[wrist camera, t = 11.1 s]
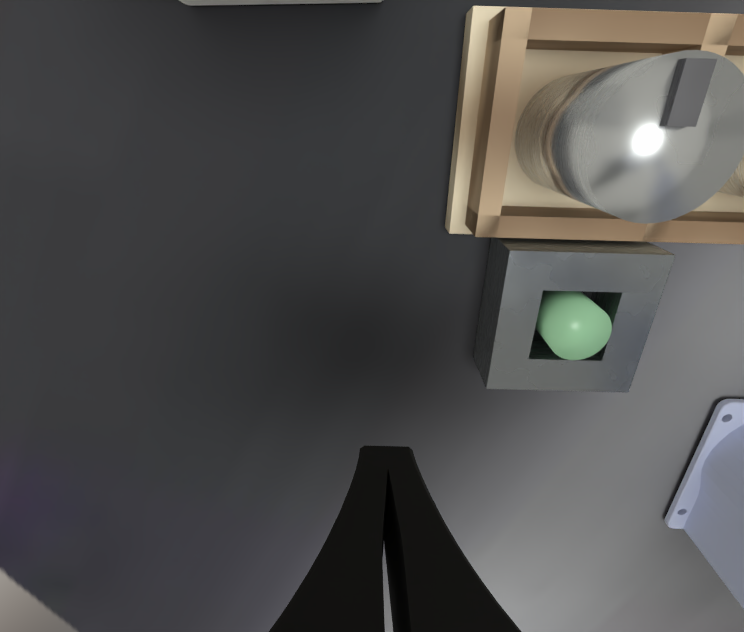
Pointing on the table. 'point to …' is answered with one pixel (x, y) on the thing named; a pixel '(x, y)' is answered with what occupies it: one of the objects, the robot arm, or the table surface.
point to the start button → (572, 324)
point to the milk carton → (270, 2)
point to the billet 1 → (637, 134)
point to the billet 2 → (735, 182)
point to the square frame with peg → (566, 273)
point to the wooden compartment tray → (529, 75)
